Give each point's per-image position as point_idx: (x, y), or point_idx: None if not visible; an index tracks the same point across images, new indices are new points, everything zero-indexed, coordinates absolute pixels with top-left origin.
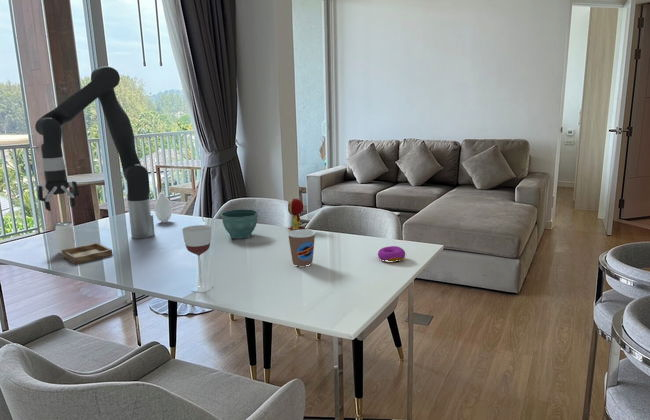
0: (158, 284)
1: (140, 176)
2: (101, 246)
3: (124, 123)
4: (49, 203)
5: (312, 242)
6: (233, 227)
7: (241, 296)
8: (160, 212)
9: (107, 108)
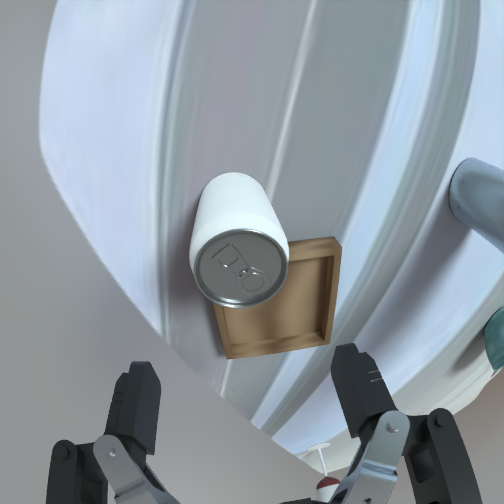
0: (295, 438)
1: None
2: (330, 294)
3: None
4: (153, 441)
5: None
6: (487, 353)
7: (326, 455)
8: None
9: None
